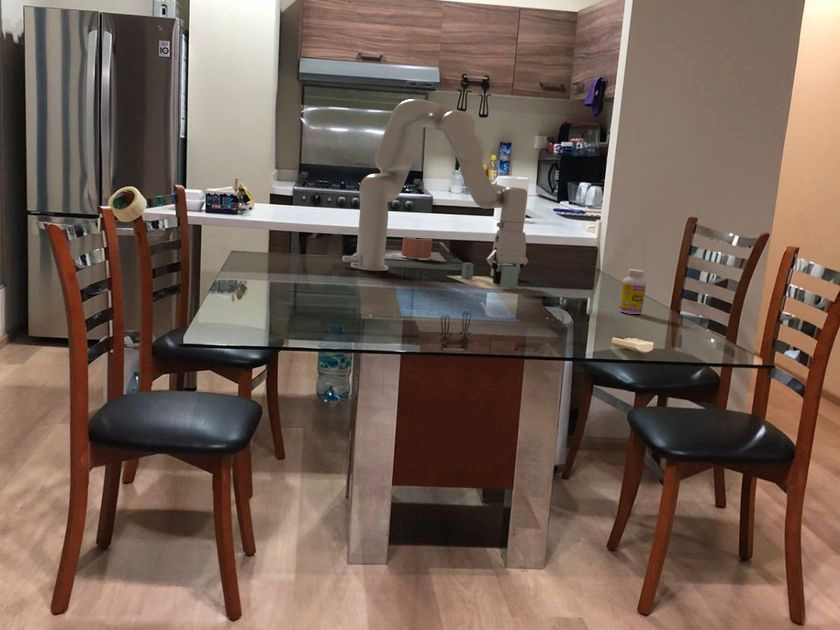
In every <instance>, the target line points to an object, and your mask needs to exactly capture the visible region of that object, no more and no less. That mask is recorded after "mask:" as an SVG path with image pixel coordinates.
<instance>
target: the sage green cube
mask: <svg viewBox="0 0 840 630" xmlns="http://www.w3.org/2000/svg"><path fill="white" fill-rule="evenodd" d="M500 272H501V279H500V284H495V283H493V284H494V285H497V286H500V287H518V282H519V281H518V280H519V273H520V272H519V267H518V266H515V265H512V264H503V265H502V267H501V270H500Z"/></svg>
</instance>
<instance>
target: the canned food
mask: <svg viewBox="0 0 840 630" xmlns="http://www.w3.org/2000/svg"><path fill="white" fill-rule="evenodd" d="M432 245H433V238H432V239H416V238H402V246H401V247H402V249H401V256H402V255H403V256H406V257H413V258H429V257H431V256H432Z"/></svg>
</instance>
